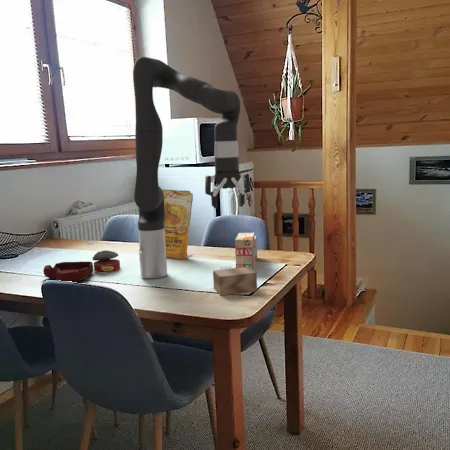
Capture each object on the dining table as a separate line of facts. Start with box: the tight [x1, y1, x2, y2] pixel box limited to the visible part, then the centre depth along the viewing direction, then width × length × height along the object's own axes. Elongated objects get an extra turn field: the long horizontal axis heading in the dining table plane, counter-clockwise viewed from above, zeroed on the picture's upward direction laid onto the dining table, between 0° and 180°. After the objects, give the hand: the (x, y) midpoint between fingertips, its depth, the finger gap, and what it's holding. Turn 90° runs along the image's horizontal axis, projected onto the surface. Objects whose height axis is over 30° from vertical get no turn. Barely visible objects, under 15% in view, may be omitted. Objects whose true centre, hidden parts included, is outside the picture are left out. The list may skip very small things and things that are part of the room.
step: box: [212, 267, 258, 296], centre depth 157 cm, size 12×8×6 cm, turn 106°
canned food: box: [92, 250, 121, 273], centre depth 189 cm, size 11×10×10 cm
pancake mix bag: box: [162, 189, 194, 260], centre depth 204 cm, size 7×19×28 cm, turn 56°
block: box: [219, 265, 232, 270], centre depth 167 cm, size 4×4×10 cm
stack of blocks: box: [234, 232, 258, 270], centre depth 187 cm, size 21×6×12 cm, turn 172°
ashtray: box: [43, 261, 94, 283], centre depth 178 cm, size 18×16×5 cm
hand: (228, 207), depth 157 cm, fingers open, 8 cm apart
